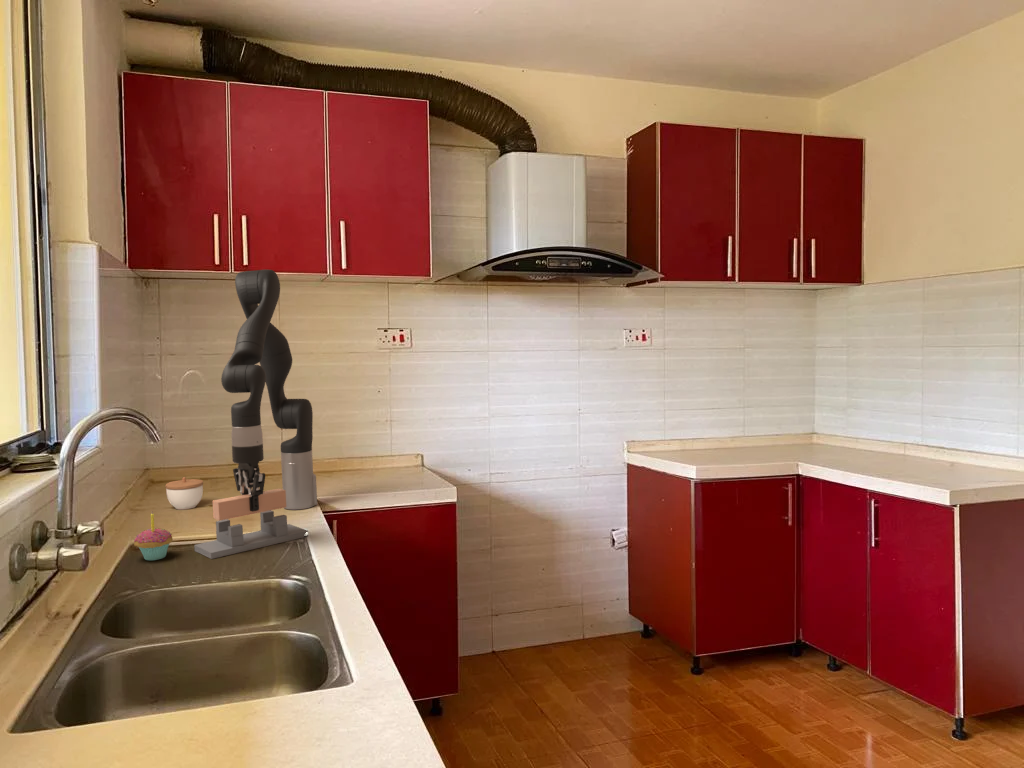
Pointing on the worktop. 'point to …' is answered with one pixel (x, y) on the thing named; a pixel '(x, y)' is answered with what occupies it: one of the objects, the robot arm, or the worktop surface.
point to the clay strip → (241, 504)
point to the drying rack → (249, 536)
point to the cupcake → (153, 542)
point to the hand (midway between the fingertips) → (250, 509)
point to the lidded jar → (184, 493)
